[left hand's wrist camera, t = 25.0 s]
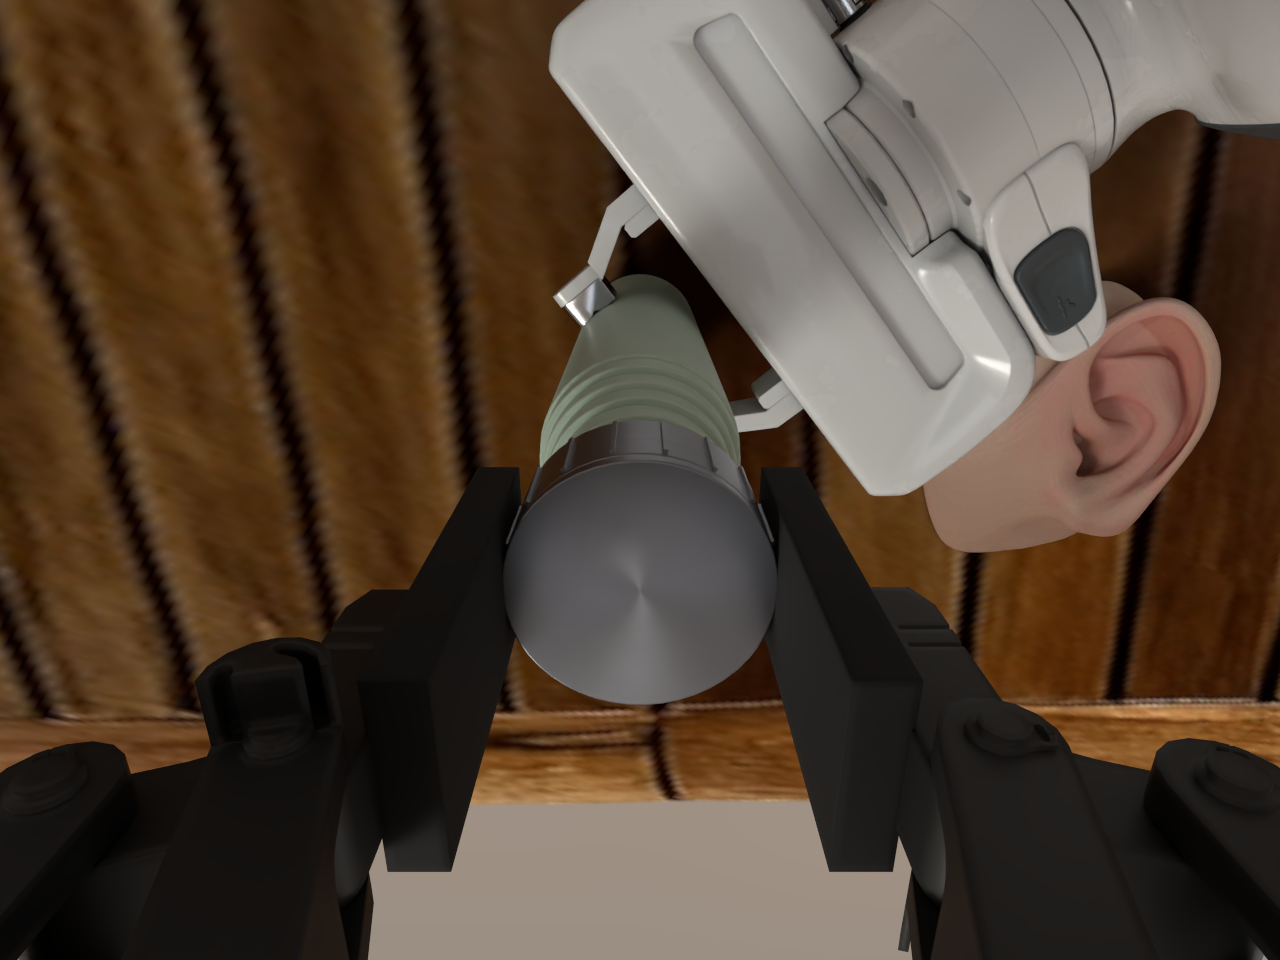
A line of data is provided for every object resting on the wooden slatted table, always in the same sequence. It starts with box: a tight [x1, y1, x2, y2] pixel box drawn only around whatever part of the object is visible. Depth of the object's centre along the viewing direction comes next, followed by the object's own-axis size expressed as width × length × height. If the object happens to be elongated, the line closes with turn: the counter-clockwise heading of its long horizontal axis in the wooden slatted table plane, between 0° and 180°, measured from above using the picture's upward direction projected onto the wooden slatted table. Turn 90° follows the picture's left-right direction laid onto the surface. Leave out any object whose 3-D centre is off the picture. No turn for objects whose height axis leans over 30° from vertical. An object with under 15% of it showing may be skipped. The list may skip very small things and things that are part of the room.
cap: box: [502, 420, 778, 705], centre depth 14 cm, size 5×5×2 cm
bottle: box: [540, 274, 740, 468], centre depth 24 cm, size 5×5×23 cm
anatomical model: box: [923, 281, 1221, 552], centre depth 35 cm, size 13×4×12 cm
